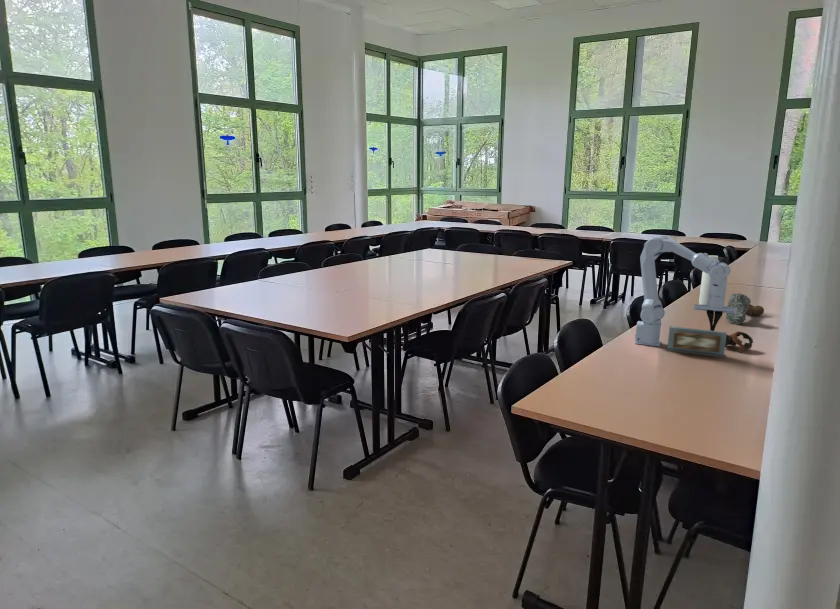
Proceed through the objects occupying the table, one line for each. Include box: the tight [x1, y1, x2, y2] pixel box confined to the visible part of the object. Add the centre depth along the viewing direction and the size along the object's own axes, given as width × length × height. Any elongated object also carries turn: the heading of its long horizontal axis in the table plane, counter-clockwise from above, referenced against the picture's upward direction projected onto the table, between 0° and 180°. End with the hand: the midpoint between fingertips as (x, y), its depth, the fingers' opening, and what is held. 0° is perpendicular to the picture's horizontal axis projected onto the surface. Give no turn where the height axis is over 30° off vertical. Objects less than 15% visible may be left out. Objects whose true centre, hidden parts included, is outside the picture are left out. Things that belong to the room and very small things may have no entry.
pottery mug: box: [725, 331, 754, 354], centre depth 228 cm, size 12×10×8 cm
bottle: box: [698, 254, 719, 305], centre depth 295 cm, size 8×8×28 cm
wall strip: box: [666, 326, 728, 358], centre depth 223 cm, size 20×5×10 cm, turn 64°
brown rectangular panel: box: [673, 332, 721, 352], centre depth 219 cm, size 16×3×6 cm, turn 64°
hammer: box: [725, 292, 765, 325], centre depth 275 cm, size 15×10×30 cm
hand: (712, 330), depth 217 cm, fingers closed
